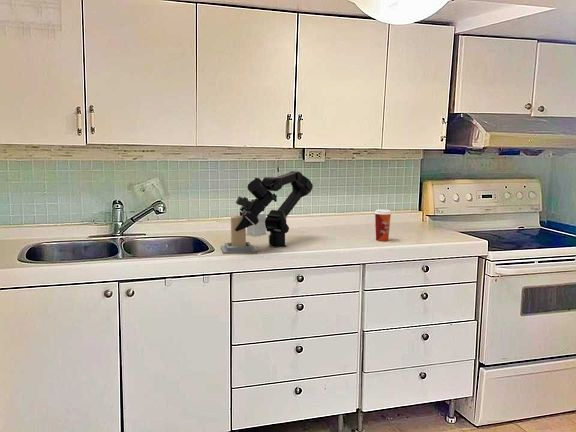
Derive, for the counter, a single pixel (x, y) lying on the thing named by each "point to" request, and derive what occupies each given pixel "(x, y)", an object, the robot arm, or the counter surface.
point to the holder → (238, 248)
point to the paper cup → (382, 224)
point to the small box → (258, 226)
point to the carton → (237, 232)
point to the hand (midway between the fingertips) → (235, 229)
